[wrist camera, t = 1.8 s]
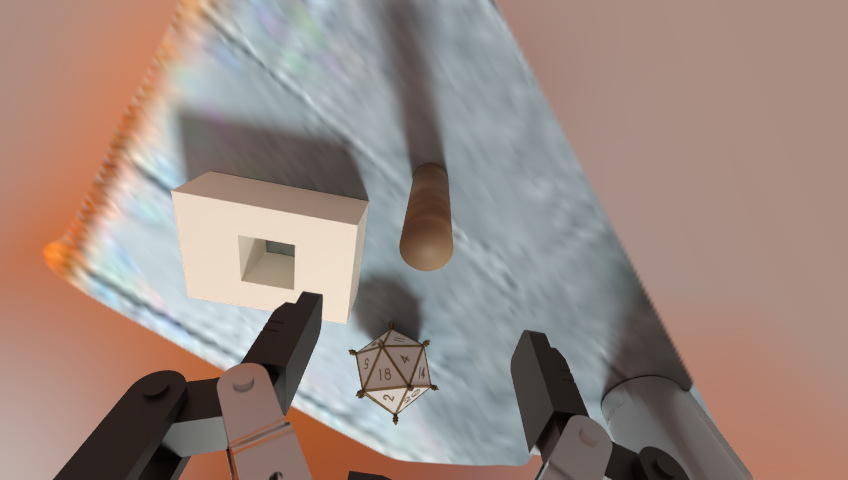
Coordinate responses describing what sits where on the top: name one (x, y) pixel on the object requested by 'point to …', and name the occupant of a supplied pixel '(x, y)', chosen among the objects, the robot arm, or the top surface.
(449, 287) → the top surface
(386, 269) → the top surface
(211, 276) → the hole block
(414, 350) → the game die
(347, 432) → the top surface
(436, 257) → the peg
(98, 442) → the robot arm
